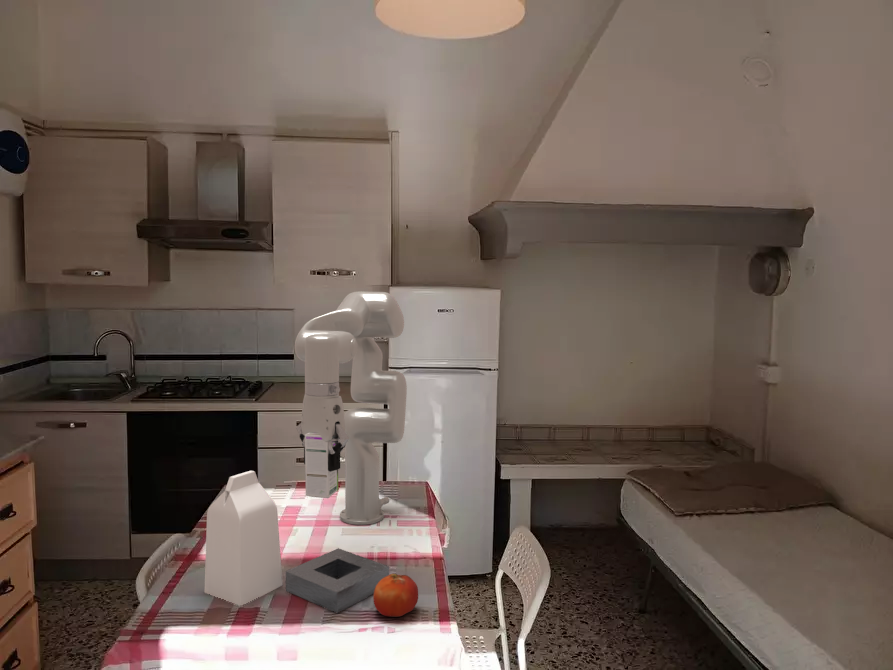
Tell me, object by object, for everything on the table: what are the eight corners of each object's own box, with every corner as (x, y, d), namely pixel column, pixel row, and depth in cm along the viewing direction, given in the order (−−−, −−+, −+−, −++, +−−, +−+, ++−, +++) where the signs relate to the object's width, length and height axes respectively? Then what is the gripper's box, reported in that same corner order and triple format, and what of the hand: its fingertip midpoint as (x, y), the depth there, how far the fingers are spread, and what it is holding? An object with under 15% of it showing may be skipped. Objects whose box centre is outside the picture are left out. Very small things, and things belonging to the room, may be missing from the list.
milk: (240, 607, 144) (239, 486, 142) (204, 592, 150) (202, 476, 148) (282, 585, 154) (281, 472, 152) (247, 572, 161) (245, 463, 158)
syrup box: (329, 498, 153) (329, 434, 152) (304, 496, 154) (304, 432, 153) (338, 491, 159) (339, 429, 157) (314, 488, 160) (314, 427, 159)
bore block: (338, 566, 164) (338, 548, 164) (388, 585, 155) (388, 566, 154) (285, 590, 152) (285, 571, 151) (337, 613, 142) (337, 592, 142)
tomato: (369, 622, 139) (370, 584, 138) (376, 600, 148) (377, 564, 147) (415, 624, 138) (416, 586, 138) (419, 602, 148) (420, 566, 147)
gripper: (361, 391, 152) (361, 470, 154) (309, 383, 163) (309, 456, 164) (336, 396, 146) (336, 477, 148) (283, 387, 157) (284, 463, 158)
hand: (322, 466), depth 156 cm, fingers closed on syrup box, 7 cm apart
